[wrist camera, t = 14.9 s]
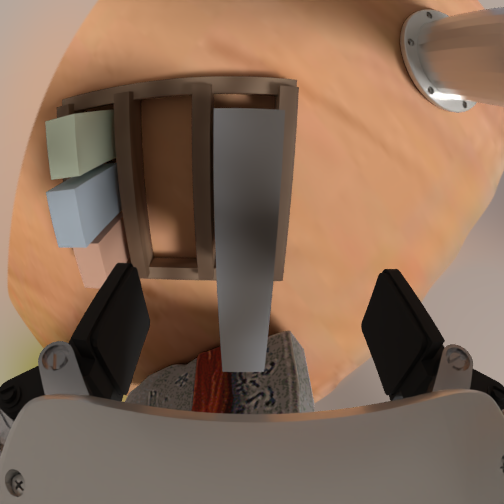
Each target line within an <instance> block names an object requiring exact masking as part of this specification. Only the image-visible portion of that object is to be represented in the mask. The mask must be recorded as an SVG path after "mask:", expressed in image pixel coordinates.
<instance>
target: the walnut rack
mask: <svg viewBox="0 0 504 504" xmlns="http://www.w3.org/2000/svg"><path fill="white" fill-rule="evenodd" d="M296 86H297V80H293V79H282V78H268V77H244V76H216V77H191V78H177V79H167V80H157V81H149V82H142V83H135V84H129V85H123V86H118V87H112V88H107V89H103V90H98V91H94V92H89V93H85V94H81V95H77V96H74V97H70V98H66V99H63V100H62V106H60V107H57V118H60V117H64V116H68V115H72V114H77V113H84V110H85V109H90V108H95V107H100V106H105V105H110V104H114V131H115V148H116V161H117V172H118V182H119V190H120V198H121V206H122V213H123V219H124V225H125V231H126V237H127V243H128V248H129V253H130V258H129V259H128V261H127V262H126V263H131V264H132V265H133V267H136V268H137V270H138V274H139V278H145V279H174V280H216V281H217V276H216V259H215V233H214V171H213V144H214V94H250V95H271V96H275V109H276V110H285V123H284V141H283V158H282V174H281V189H280V203H279V217H278V230H277V243H276V255H275V267H274V278H273V281H283V272H284V263H285V254H286V245H287V235H288V225H289V215H290V204H291V192H292V181H293V168H294V155H295V142H296V127H297V110H298V92H299V87H296ZM185 95H192V172H193V200H194V220H195V237H196V252H197V258H155V257H154V256H153V249H152V243H151V236H150V228H149V220H148V212H147V203H146V193H145V182H144V169H143V154H142V133H141V100H143V99H151V98H161V97H172V96H185ZM70 178H72V177H68V178H63V182H64V181H66V180H68V179H70Z"/></svg>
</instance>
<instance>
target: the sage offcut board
mask: <svg viewBox="0 0 504 504" xmlns="http://www.w3.org/2000/svg"><path fill="white" fill-rule="evenodd" d="M45 123H46V139H47V150H48V159H49V167H50V174H51V180H54V179H61V178H68V177H76V176H81V175H82V174H84V173H86V172H88V171H90V170H92V169H94V168H96V167H98V166H99V165H101V164H103V163H105V162H107V161H109V160H111V159H114V158H116V148H115V131H114V109H112V110H101V111H92V112H84V113H77V114H72V115H68V116H64V117H60V118H56V119H53V120H49V121H46V122H45Z"/></svg>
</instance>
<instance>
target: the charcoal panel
mask: <svg viewBox="0 0 504 504" xmlns="http://www.w3.org/2000/svg"><path fill="white" fill-rule="evenodd" d="M284 123H285V110H276V109H254V108H214V220H215V251H216V276H217V296H218V314H219V330H220V345H221V358H222V371H223V372H264V369H265V360H266V350H267V341H268V331H269V321H270V311H271V300H272V289H273V278H274V267H275V255H276V243H277V230H278V217H279V203H280V189H281V174H282V158H283V141H284Z"/></svg>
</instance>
